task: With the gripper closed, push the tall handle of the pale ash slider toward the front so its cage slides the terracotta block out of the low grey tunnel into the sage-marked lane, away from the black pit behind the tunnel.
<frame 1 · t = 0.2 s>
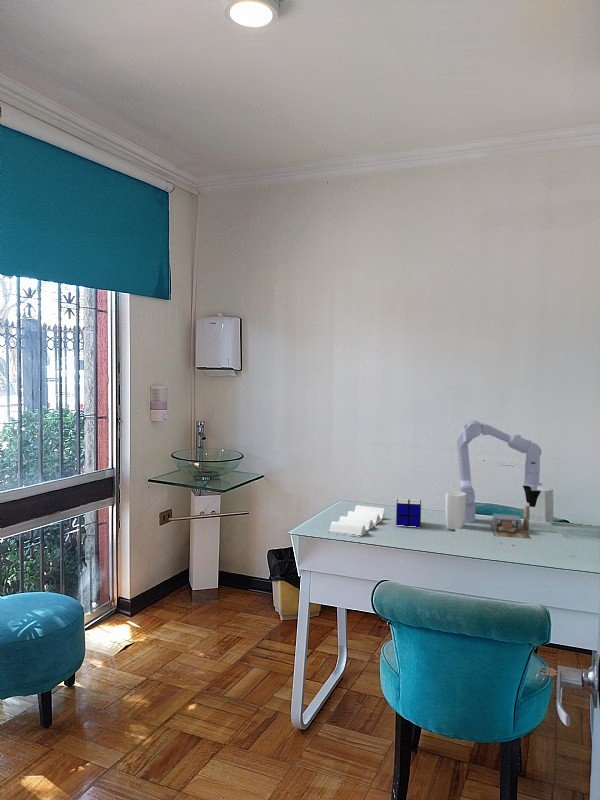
hand: (530, 504, 260), 10 cm above the table, tool pointing down, fingers open, 7 cm apart
deck: (506, 534, 251), on the table
cup: (454, 529, 257), on the table
block: (506, 529, 252), point 1 cm above the table, touching deck
white ridged rack: (357, 527, 261), on the table
skincare box: (540, 522, 272), on the table
puzzle cube: (408, 525, 264), on the table
slider: (513, 518, 251), point 6 cm above the table, slide at 0.0 cm
tunnel: (506, 523, 252), on the deck, point 4 cm above the table
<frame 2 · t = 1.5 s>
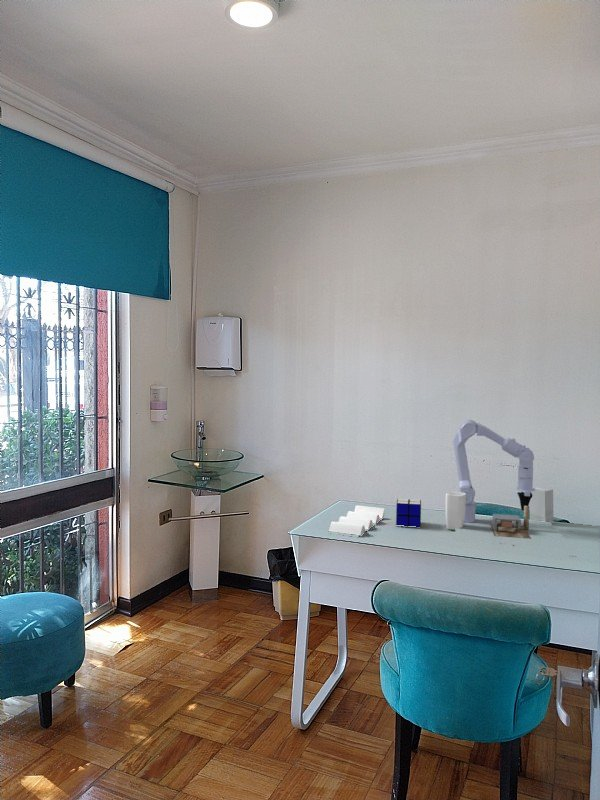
hand: (524, 510, 259), 8 cm above the table, tool pointing down, fingers closed
nothing on the table moved.
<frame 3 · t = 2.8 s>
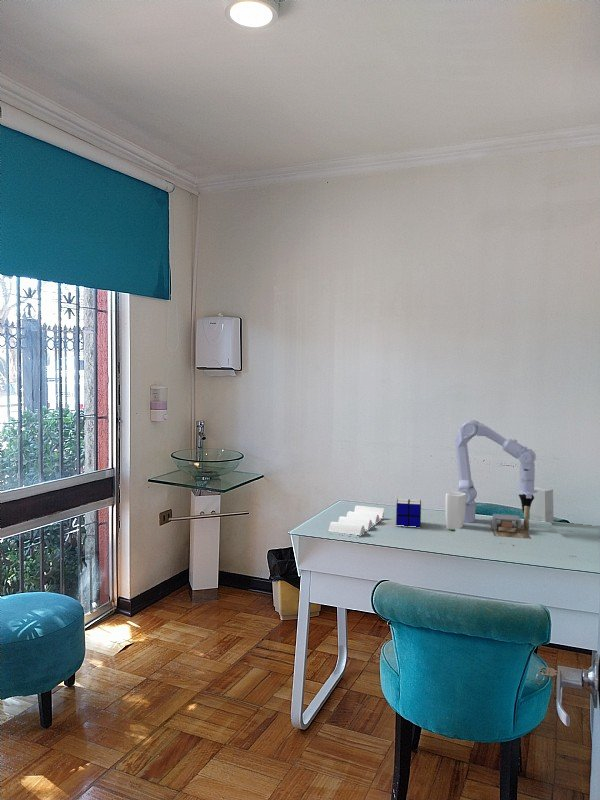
hand: (525, 512, 255), 8 cm above the table, tool pointing down, fingers closed
slider: (513, 518, 251), point 6 cm above the table, slide at 0.4 cm, touching gripper
everything else where it was.
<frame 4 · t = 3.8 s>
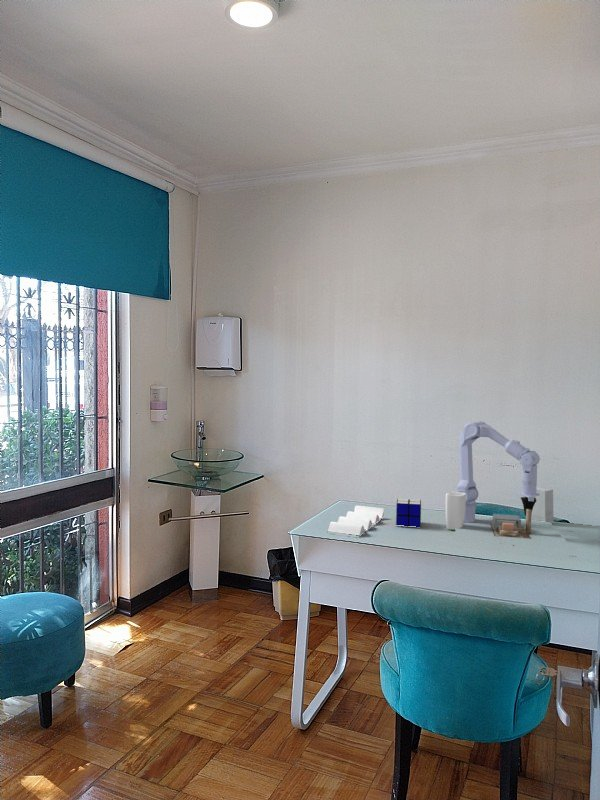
hand: (527, 515, 249), 8 cm above the table, tool pointing down, fingers closed
block: (507, 533, 246), point 2 cm above the table
slider: (515, 521, 245), point 6 cm above the table, slide at 6.1 cm, touching gripper
everything else where it was.
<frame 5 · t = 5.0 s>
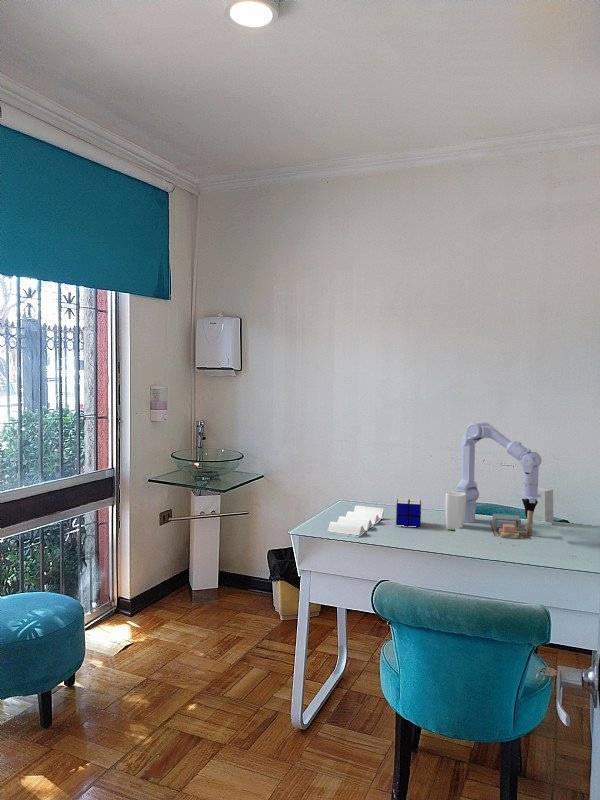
hand: (529, 517, 246), 8 cm above the table, tool pointing down, fingers closed
block: (508, 535, 243), point 1 cm above the table, touching deck, slider
slider: (516, 523, 242), point 6 cm above the table, slide at 9.4 cm, touching block, gripper
everything else where it was.
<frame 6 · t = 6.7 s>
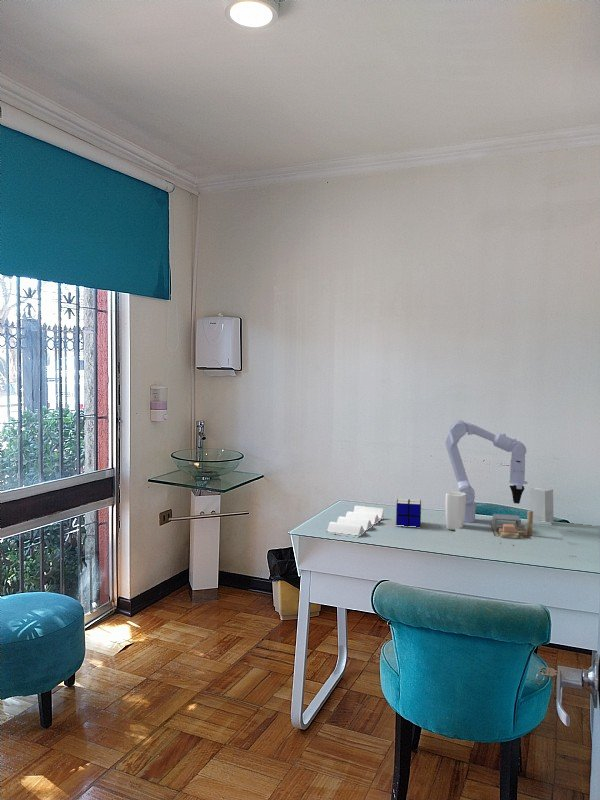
hand: (516, 503, 261), 10 cm above the table, tool pointing down, fingers closed
slider: (516, 523, 242), point 6 cm above the table, slide at 9.4 cm, touching block
everything else where it was.
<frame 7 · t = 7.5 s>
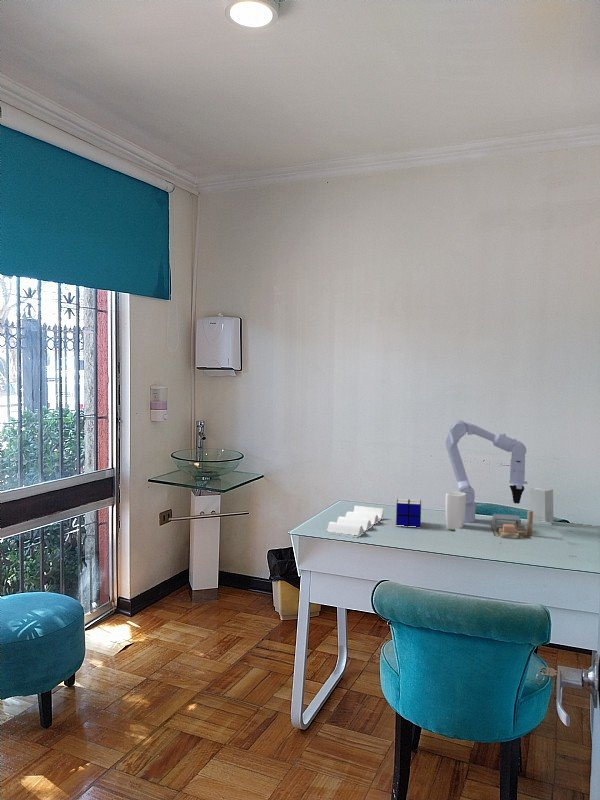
hand: (516, 503, 261), 10 cm above the table, tool pointing down, fingers closed
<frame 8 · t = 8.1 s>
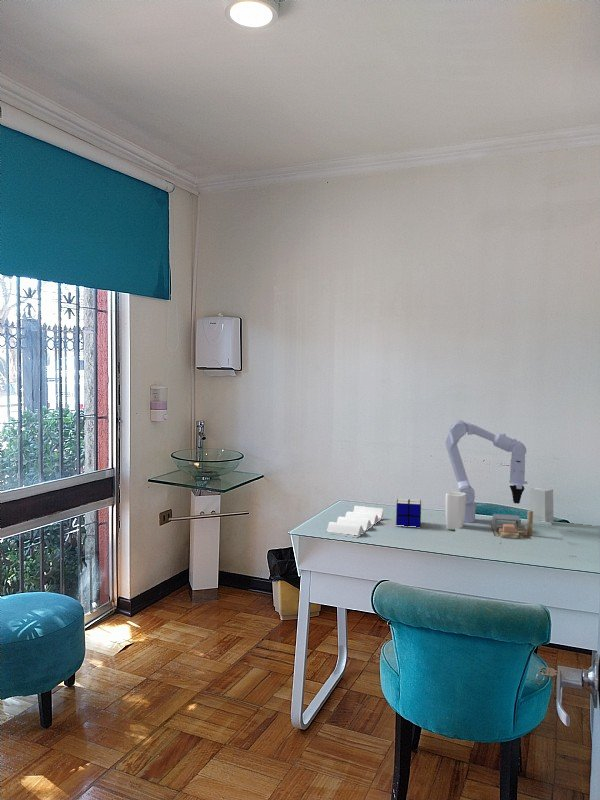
hand: (516, 503, 261), 10 cm above the table, tool pointing down, fingers closed
at the end: slider slide at 9.4 cm; block 0.2 cm from the target spot on the deck, point 1.5 cm above the deck's base; block tilted 0° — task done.
